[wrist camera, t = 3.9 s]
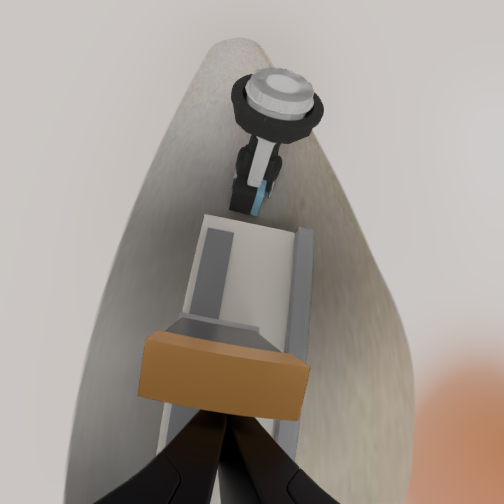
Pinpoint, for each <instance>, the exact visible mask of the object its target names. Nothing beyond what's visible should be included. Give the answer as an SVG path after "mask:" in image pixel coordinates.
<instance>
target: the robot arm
mask: <svg viewBox="0 0 504 504" xmlns="http://www.w3.org/2000/svg"><path fill="white" fill-rule="evenodd" d="M217 469H218V478H219V490H220V500H221V504H340V503H339V502H337V501H336V500H335V499H334V498H332V497H331V496H330V495H329V494H328V493H326V492H325V491H324V490H323V489H322V488H320V487H319V486H318V485H317V484H316V483H315V482H314V481H313V480H312V479H311V478H310V477H309V476H308V475H307V474H306V473H305V472H304V471H303V470H302V469H299V466H298V465H297V464H296V463H295V462H294V461H293V460H292V459H291V458H290V457H289V455H288V454H287V453H286V452H285V451H284V450H283V449H282V448H281V447H280V446H279V444H278V443H277V442H276V441H275V440H274V439H273V438H272V437H271V435H270V434H269V433H268V432H267V431H266V430H265V429H264V427H263V426H262V425H261V424H260V423H259V422H258V420H257V419H256V418H255V417H249V416H241V415H233V414H227V413H220V412H214V411H208V410H202V409H199V410H198V412H197V413H196V414H195V415H194V416H193V417H192V418H191V419H190V420H189V422H188V423H187V424H186V425H185V426H184V427H183V428H182V429H181V430H180V431H179V432H178V434H177V435H176V436H175V437H174V438H173V439H172V440H171V441H170V442H169V443H168V444H167V445H166V446H165V447H164V449H163V450H162V451H161V452H159V453H158V454H157V455H156V456H155V458H154V459H153V460H151V461H150V462H149V463H148V464H147V465H146V466H145V467H144V468H143V469H142V470H141V471H139V472H138V473H137V474H135V475H134V476H133V477H131V478H130V479H129V480H127V481H126V482H125V483H123V484H122V485H120V486H119V487H117V488H116V489H114V490H113V491H111V492H110V493H108V494H107V495H105V496H104V497H102V498H101V499H99V500H98V501H96V502H95V503H93V504H210V501H211V497H212V492H213V488H214V483H215V479H216V474H217Z"/></svg>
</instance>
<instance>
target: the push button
mask: <svg viewBox="0 0 504 504" xmlns="http://www.w3.org/2000/svg"><path fill="white" fill-rule="evenodd" d="M231 100H232V103H233V107H234V113H235V119H236V122H237V124H238V125H239V126H241V127H242V128H243V129H244V130H245V131H246V132H247V133H250V134H252V135H251V138H250V141H249V145H247V144H246V147H242V148H241V149H240V151H239V153H238V157H237V162H236V170H235V173H234V177H233V181H232V186H231V189H232V187H233V183H234V180H235V178H236V182H235V185H234V189H233V194H232V198H231V203H230V207H229V210H233V211H237V212H241V213H245V214H249V215H253V216H258V212H259V209H260V206H261V203H262V200H263V197H264V193H265V191H267V192H269V197H268V198H270V196H271V193H272V191H273V188H274V182H275V180H276V179H277V177H278V174H279V172H280V169H281V166H282V159H281V157H280V156H278V150H279V146H280V144H281V143H284V144H290V143H292V142H295V141H297V140H300V139H302V138H305V137H307V136H309V135H310V133H311V130H312V128H314V127H315V126H316V125H318V123H319V122H320V121H321V118H322V116H323V112H324V108H323V104H322V102H321V100H320V98H319V97H318V96H317V94H316V93H315V92H314V90H313V87H312V85H311V83H310V82H308V81H307V80H306V79H305V78H304V77H302V76H301V75H299V74H297V73H295V72H293V71H289V70H287V69H282V68H274V67H266V68H263V69H258V70H256V71H255V72H254V73H253V74H250V75H246V76H244V77H242V78H240V79H239V80H237V81H236V82H235V84H234V85H233V88H232V93H231Z"/></svg>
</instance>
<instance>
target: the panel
mask: <svg viewBox="0 0 504 504" xmlns="http://www.w3.org/2000/svg"><path fill="white" fill-rule="evenodd" d="M313 249H314V230H312V229H308V228H304V227H298V229H297V231H296V232H295V233H293V232H288V231H284V230H279V229H275V228H270V227H265V226H261V225H256V224H251V223H246V222H242V221H237V220H232V219H227V218H222V217H217V216H212V215H207V214H205V215H204V219H203V223H202V227H201V231H200V235H199V239H198V243H197V248H196V252H195V256H194V260H193V265H192V269H191V273H190V278H189V282H188V287H187V291H186V296H185V300H184V305H183V309H182V312H184V313H189V314H194V315H199V316H204V317H209V318H214V319H219V320H225V321H230V322H235V323H241V324H247V325H252V326H258V327H259V334H260V335H261V336H262V337H264V338H265V339H266V340H267V341H268V342H270V343H271V344H272V345H273V346H275V347H276V348H277V349H278V350H280V351H281V352H282V353H288V354H293V355H294V356H295V357H297V358H298V359H300V360H301V361H302V362H304V363H305V364H306V356H307V345H308V332H309V319H310V304H311V288H312V270H313ZM198 410H199V409H196V408H191V407H186V406H181V405H176V404H171V403H166V402H164V408H163V414H162V420H161V426H160V432H159V439H158V445H157V452H156V455H157V454H158V453H159V452H161V451H162V450H163V449H164V447H165V446H166V445H167V444H168V443H169V442H170V441H171V440H172V439H173V438H174V437H175V436H176V435H177V434H178V432H179V431H180V430H181V429H182V428H183V427H184V426H185V425H186V424H187V423H188V422H189V420H190V419H191V418H192V417H193V416H194V415H195V414H196V413H197V412H198ZM300 415H301V412H300ZM255 418H256V419H257V420H258V422H259V423H260V424H261V425H262V426H263V427H264V429H265V430H266V431H267V432H268V433H269V434H270V435H271V437H272V438H273V439H274V440H275V441H276V442H277V443H278V444H279V446H280V447H281V448H282V449H283V450H284V451H285V452H286V453H287V454H288V455H289V457H290V458H291V459H292V460H293V461H294V462H295V454H296V447H297V439H298V431H299V423H300V416H299V420H298V421H288V420H276V419H266V418H257V417H255ZM210 504H221V500H220V490H219V478H218V469H217V474H216V479H215V483H214V488H213V492H212V497H211V501H210Z"/></svg>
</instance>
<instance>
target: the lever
mask: <svg viewBox="0 0 504 504" xmlns="http://www.w3.org/2000/svg"><path fill="white" fill-rule="evenodd" d="M309 372H310V367H309V366H308V365H307V364H305V363H304V362H302V361H301V360H300V359H298V358H297V357H295V356H294V355H293V354H288V353H282V352H281V351H280V350H278V349H277V348H276V347H275V346H273V345H272V344H271V343H270V342H268V341H267V340H266V339H265V338H264V337H262V336H261V335H260V334H259V327H258V326H252V325H247V324H241V323H235V322H230V321H225V320H219V319H214V318H209V317H204V316H199V315H194V314H189V313H184V312H179V315H178V319H177V322H176V323H174V324H173V325H172V326H171V327H169V328H168V329H167V330H166V331H161V330H158V331H156V332H155V333H153V334H152V335H150V336H149V337H147V338H146V340H145V347H144V353H143V360H142V367H141V374H140V382H139V389H138V396H141V397H145V398H149V399H153V400H158V401H162V402H166V403H171V404H176V405H181V406H186V407H191V408H196V409H202V410H208V411H214V412H220V413H227V414H233V415H241V416H249V417H257V418H266V419H276V420H288V421H298V420H299V416H300V412H301V407H302V403H303V399H304V394H305V390H306V386H307V381H308V376H309Z"/></svg>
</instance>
